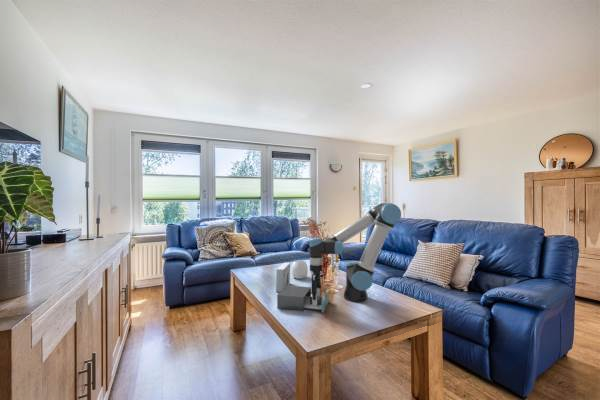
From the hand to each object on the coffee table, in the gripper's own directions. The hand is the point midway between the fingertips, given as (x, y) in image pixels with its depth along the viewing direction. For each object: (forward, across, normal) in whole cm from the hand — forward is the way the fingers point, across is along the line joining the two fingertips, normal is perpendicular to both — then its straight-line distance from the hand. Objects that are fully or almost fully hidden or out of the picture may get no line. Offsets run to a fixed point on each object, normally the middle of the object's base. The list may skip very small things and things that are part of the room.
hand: (316, 301), depth 158 cm
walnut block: (+3, -14, -2) cm, 14 cm away
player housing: (+3, 0, -14) cm, 14 cm away
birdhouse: (+2, 0, -2) cm, 3 cm away
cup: (+3, -54, -26) cm, 60 cm away
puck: (+1, 0, 0) cm, 1 cm away
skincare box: (+3, -28, -30) cm, 42 cm away
